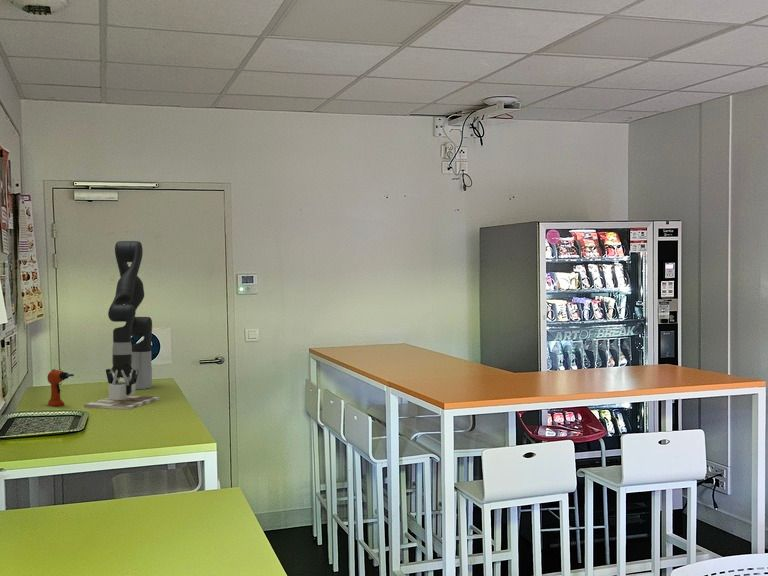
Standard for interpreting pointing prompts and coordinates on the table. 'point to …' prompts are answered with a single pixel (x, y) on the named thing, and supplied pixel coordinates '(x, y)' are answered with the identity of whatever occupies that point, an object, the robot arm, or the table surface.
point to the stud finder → (119, 390)
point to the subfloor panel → (122, 402)
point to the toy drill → (56, 386)
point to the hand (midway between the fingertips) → (122, 394)
